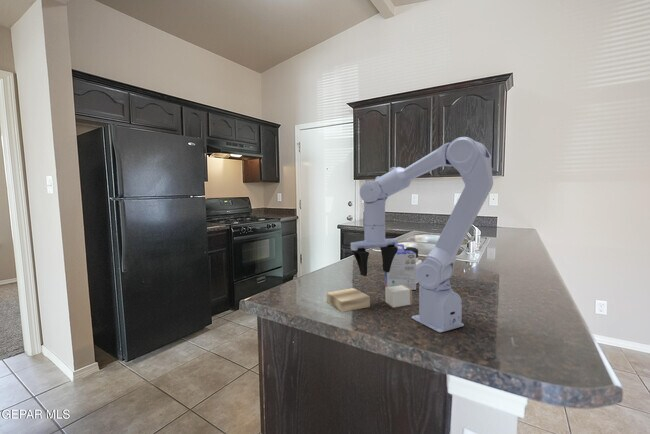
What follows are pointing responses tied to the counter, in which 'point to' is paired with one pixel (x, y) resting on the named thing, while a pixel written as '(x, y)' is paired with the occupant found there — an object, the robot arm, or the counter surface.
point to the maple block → (348, 299)
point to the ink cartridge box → (402, 269)
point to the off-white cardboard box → (398, 296)
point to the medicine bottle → (416, 256)
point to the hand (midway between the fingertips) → (375, 273)
